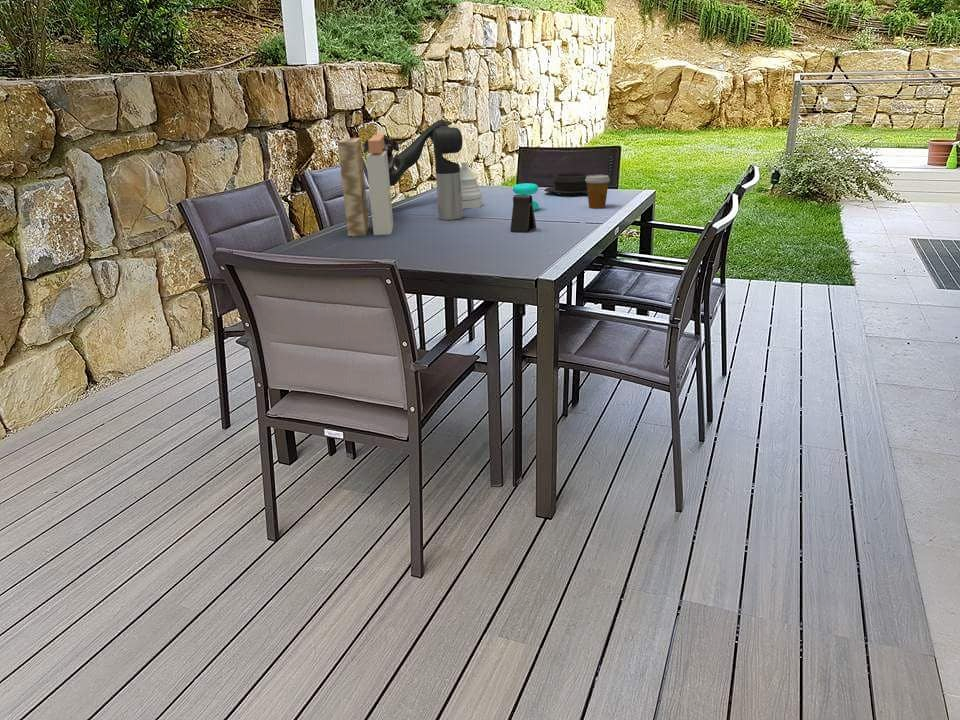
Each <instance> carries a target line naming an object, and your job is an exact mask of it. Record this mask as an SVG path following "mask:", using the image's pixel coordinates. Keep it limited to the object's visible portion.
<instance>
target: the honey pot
mask: <svg viewBox="0 0 960 720" xmlns="http://www.w3.org/2000/svg"><path fill="white" fill-rule="evenodd" d="M460 164H461V166H460V179H461V194H462V210H464V209H463V208H472V209H476V208H475V207H478V208H481V207H483V198H482V191H481V189H480V187H479V183H478V179H479V177H478V176H477V175H475V174H474V173H473V171H472V169H470V167H469V166H468V161H467V162H466V161H461V162H460ZM480 206H481V207H480Z"/></svg>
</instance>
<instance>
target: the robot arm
mask: <svg viewBox="0 0 960 720" xmlns="http://www.w3.org/2000/svg"><path fill="white" fill-rule="evenodd" d="M373 135H374V134H372V135H370V136H369V138H368V139H365V141H364V143H363V145H362V148H363V149H362V153H364V154H367V153H369V145H368V141H369V139H370V138H371V137H372V136H373ZM428 139H430V140H431V142H432V145H433V152H434V153H433V154H434V165H435V167H434V168H435V179H436V180H435V183H436V184H435V185H436V194H437V195H436V196H437V197H436V198H437V210H438V211H437V212H438V213H437V214H438V219H439V220H443V221H449V220H450V221H452V220H460V219H464V216H463V214H464V213H463V209H462V194H461V179H460V168H461V166H460V164H459V163H457V162H453V161H452V160H449V159H446V158H445V157H444V155H445V154H449V155H450V154H457V153H459V152H460V151H461V150H462V148H463V142H464V141H463V135H462V132H461V130H460V129H459V128H458V127H451V126H449V125H448V123H447V122H446V121H445V120H444V119H443V118H442V119H437V120H436V121H435V122H433V123H431V125H429V126H428V127H427V128H426V129H425V130H424V131H423V132H422V133H421V134H420V135H419V136H417V138H415V140H414V141H412V143H410V145H408V146H407V147H406V148H404V150H402V151H401V152H400V144H399V143H398V142H397V141H396V140H395V139H393V138H390V139H389V136H388V135H386V134H385V135H384V142H385V147H384V149H383V150H382V151H387V158H388V169H389V181H390V187H392V186H393V187H394V186H396V184H398V182H399V180H400V179H401V178H402V176H403V175H404V174H405V173H406V171H407V170H409V169H410V168H411V167H412V166H414V165H415V164H416V163H418V161H419V160H420V158H421V156H422V152H423V149H424V148H425V143H426V142H427V140H428ZM393 151H395V152H400V153H398V154H396V155H395V156H394V154H393Z"/></svg>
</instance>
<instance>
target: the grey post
mask: <svg viewBox="0 0 960 720" xmlns="http://www.w3.org/2000/svg"><path fill="white" fill-rule="evenodd" d="M365 159H366V167H367V168H366V170H367V179H368V189H369V190H368V191H369V198H370V199H369V200H370V209H371V220H372V221H371V222H372V230H373V236H382V235H383V236H385V235H392V231H393V228H394V217H393V205H392V195H391V194H392V193H391V186H390V181H389V169H388V158H387V151H382V152H381V153H369V152H368V154H367V155H365Z"/></svg>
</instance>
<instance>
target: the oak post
mask: <svg viewBox="0 0 960 720" xmlns="http://www.w3.org/2000/svg"><path fill="white" fill-rule="evenodd" d="M337 147H338V149H337V150H338V158H339V165H340V166H339V167H340V174H341V185H342V193H343V200H344V201H343V202H344V209H345V220H346V229H347V237H349V236H352V237H365V236H366V235H367V233H368V230H369V229H370V220H369V209H368V200H367V191H366V190H367V189H366V182H365V181H366V180H365V171H364V161H363V159H364V158H363V149H362V140H361V137H351V138H349V137H348V138H342V139H341V140H340V141H338V142H337Z"/></svg>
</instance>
